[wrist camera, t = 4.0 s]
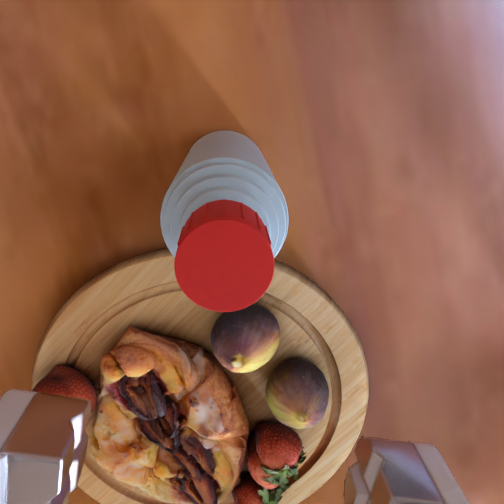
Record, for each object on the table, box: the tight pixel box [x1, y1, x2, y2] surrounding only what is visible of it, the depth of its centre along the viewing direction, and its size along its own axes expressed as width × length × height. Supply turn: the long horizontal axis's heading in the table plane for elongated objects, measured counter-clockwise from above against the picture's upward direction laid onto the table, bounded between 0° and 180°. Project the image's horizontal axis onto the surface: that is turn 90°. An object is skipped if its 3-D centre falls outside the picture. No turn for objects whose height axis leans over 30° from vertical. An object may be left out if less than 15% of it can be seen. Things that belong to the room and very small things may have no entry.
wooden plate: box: [31, 248, 369, 504], centre depth 42 cm, size 32×32×8 cm
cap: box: [174, 199, 275, 312], centre depth 20 cm, size 4×4×3 cm
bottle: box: [160, 130, 289, 258], centre depth 29 cm, size 7×7×21 cm
